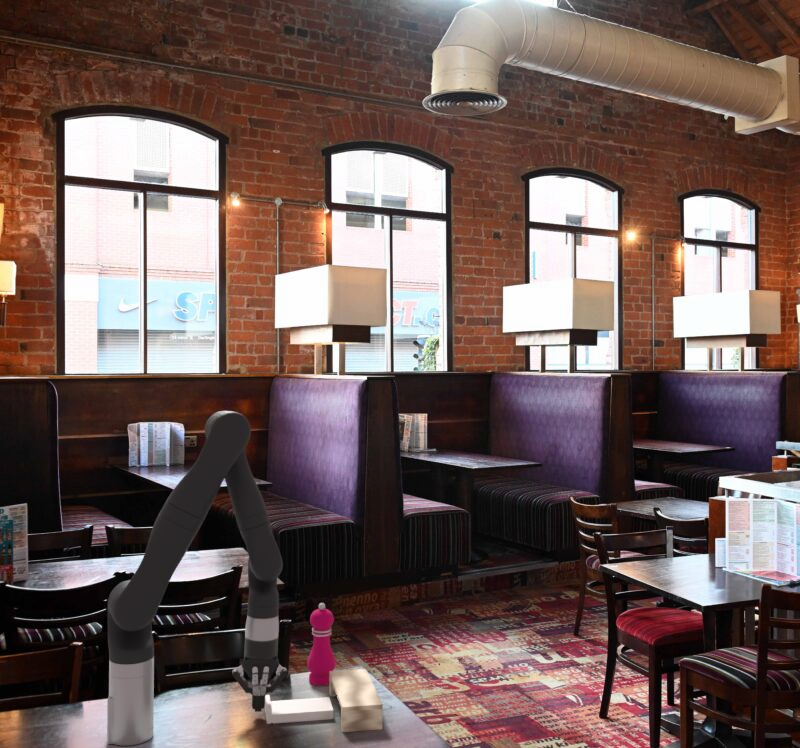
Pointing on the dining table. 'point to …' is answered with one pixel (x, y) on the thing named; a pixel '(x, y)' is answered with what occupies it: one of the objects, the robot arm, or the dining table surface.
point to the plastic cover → (298, 710)
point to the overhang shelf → (356, 700)
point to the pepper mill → (321, 647)
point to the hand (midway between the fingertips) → (258, 710)
